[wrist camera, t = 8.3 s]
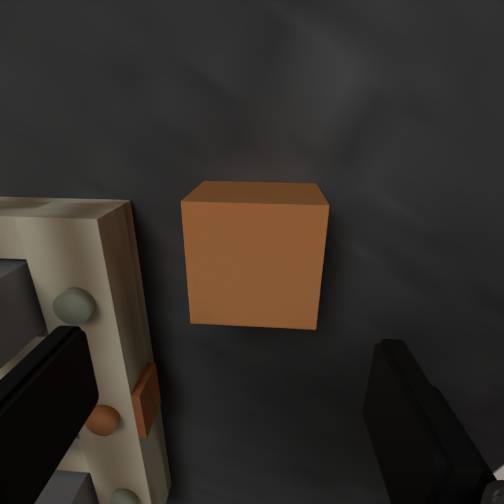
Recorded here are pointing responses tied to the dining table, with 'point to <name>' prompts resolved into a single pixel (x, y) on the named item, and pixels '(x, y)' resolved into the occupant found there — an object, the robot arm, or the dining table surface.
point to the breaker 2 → (69, 489)
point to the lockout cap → (255, 253)
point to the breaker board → (97, 334)
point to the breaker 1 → (17, 309)
